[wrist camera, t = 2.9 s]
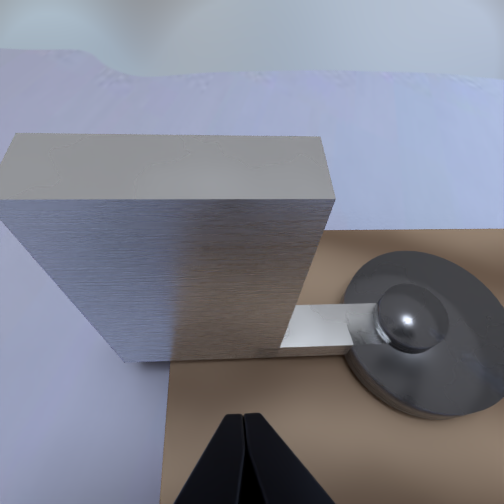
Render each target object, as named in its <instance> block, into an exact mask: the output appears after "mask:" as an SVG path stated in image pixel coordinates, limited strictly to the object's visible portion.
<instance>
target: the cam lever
mask: <svg viewBox="0 0 504 504" xmlns="http://www.w3.org/2000/svg"><path fill="white" fill-rule="evenodd" d="M335 199H336V198H335V194H334V190H333V186H332V182H331V178H330V174H329V170H328V166H327V162H326V158H325V154H324V149H323V145H322V141H321V137H307V136H222V135H137V134H51V133H16V134H15V136H14V138H13V140H12V142H11V144H10V146H9V148H8V150H7V152H6V154H5V156H4V158H3V160H2V162H1V164H0V220H1V221H2V222H3V223H4V225H5V226H6V227H7V228H8V229H9V230H10V231H11V233H12V234H13V235H14V236H15V237H16V238H17V240H18V241H19V242H20V243H21V244H22V245H23V246H24V248H25V249H26V250H27V251H28V252H29V253H30V254H31V256H32V257H33V258H34V259H35V260H36V261H37V263H38V264H39V265H40V266H41V267H42V268H43V269H44V271H45V272H46V273H47V274H48V275H49V276H50V278H51V279H52V280H53V281H54V282H55V283H56V284H57V286H58V287H59V288H60V289H61V290H62V291H63V292H64V294H65V295H66V296H67V297H68V298H69V299H70V301H71V302H72V303H73V304H74V305H75V306H76V307H77V309H78V310H79V311H80V312H81V313H82V314H83V315H84V317H85V318H86V319H87V320H88V321H89V322H90V324H91V325H92V326H93V327H94V328H95V329H96V330H97V332H98V333H99V334H100V335H101V336H102V337H103V339H104V340H105V341H106V342H107V343H108V344H109V345H110V347H111V348H112V349H113V350H114V351H115V352H116V353H117V355H118V356H119V357H120V358H121V359H122V360H123V362H124V363H126V362H154V361H182V360H210V359H238V358H266V357H294V356H322V355H344V357H345V359H346V361H347V362H348V364H349V366H350V368H351V369H352V371H353V372H354V374H355V375H356V377H357V378H358V379H359V380H360V381H361V382H362V384H363V385H364V386H365V387H366V388H367V389H368V390H369V391H370V392H372V393H373V394H374V395H375V396H376V397H378V398H379V399H380V400H382V401H383V402H384V403H386V404H388V405H389V406H391V407H393V408H394V409H396V410H399V411H401V412H403V413H405V414H408V415H411V416H414V417H418V418H423V419H429V420H448V419H454V418H458V417H461V416H465V415H468V414H472V413H475V412H478V411H482V410H485V409H487V408H489V407H491V406H493V405H495V404H496V403H497V402H499V401H500V400H501V399H502V398H503V397H504V308H503V306H502V305H501V303H500V302H499V300H498V299H497V298H496V297H495V296H494V294H493V293H492V292H491V291H490V290H489V289H488V288H487V287H486V286H485V285H484V284H483V283H482V282H481V281H480V280H478V279H477V278H476V277H475V276H474V275H472V274H471V273H469V272H468V271H467V270H465V269H464V268H462V267H460V266H458V265H457V264H455V263H453V262H451V261H448V260H446V259H444V258H441V257H438V256H436V255H432V254H428V253H424V252H418V251H394V252H389V253H385V254H382V255H379V256H377V257H375V258H373V259H371V260H370V261H368V262H367V263H365V264H364V265H363V266H362V267H361V268H360V269H359V270H358V271H357V272H356V274H355V275H354V277H353V278H352V280H351V281H350V283H349V285H348V286H347V288H346V290H345V291H344V293H343V295H342V297H341V299H340V302H339V304H322V305H296V303H297V301H298V298H299V295H300V293H301V290H302V287H303V285H304V282H305V279H306V277H307V274H308V271H309V269H310V266H311V263H312V261H313V258H314V255H315V253H316V250H317V247H318V245H319V242H320V239H321V237H322V234H323V231H324V229H325V226H326V223H327V221H328V218H329V215H330V213H331V210H332V207H333V205H334V202H335Z"/></svg>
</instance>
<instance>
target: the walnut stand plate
mask: <svg viewBox="0 0 504 504" xmlns="http://www.w3.org/2000/svg"><path fill="white" fill-rule="evenodd" d="M394 251H418V252H424V253H428V254H432V255H436V256H438V257H441V258H444V259H446V260H448V261H451V262H453V263H455V264H457V265H458V266H460V267H462V268H464V269H465V270H467V271H468V272H469V273H471V274H472V275H474V276H475V277H476V278H477V279H478V280H480V281H481V282H482V283H483V284H484V285H485V286H486V287H487V288H488V289H489V290H490V291H491V292H492V293H493V294H494V296H495V297H496V298H497V299H498V300H499V302H500V303H501V305H502V306H503V308H504V229H419V230H324V231H323V234H322V237H321V239H320V242H319V245H318V247H317V250H316V253H315V255H314V258H313V261H312V263H311V266H310V269H309V271H308V274H307V277H306V279H305V282H304V285H303V287H302V290H301V293H300V295H299V298H298V301H297V303H296V305H322V304H339V302H340V299H341V297H342V295H343V293H344V291H345V290H346V288H347V286H348V285H349V283H350V281H351V280H352V278H353V277H354V275H355V274H356V272H357V271H358V270H359V269H360V268H361V267H362V266H363V265H364V264H365V263H367V262H368V261H370V260H371V259H373V258H375V257H377V256H379V255H382V254H385V253H389V252H394ZM238 413H240V414H242V415H244V414H245V413H261V414H262V415H263V416H264V418H265V419H266V420H267V421H268V422H269V424H270V425H271V426H272V427H273V428H274V430H275V431H276V432H277V433H278V434H279V436H280V437H281V438H282V439H283V440H284V442H285V443H286V444H287V445H288V447H289V448H290V449H291V450H292V451H293V453H294V454H295V455H296V456H297V457H298V459H299V460H300V461H301V462H302V463H303V465H304V466H305V467H306V468H307V469H308V471H309V472H310V473H311V474H312V476H313V477H314V478H315V479H316V480H317V482H318V483H319V484H320V485H321V486H322V488H323V489H324V490H325V491H326V492H327V494H328V495H329V496H330V497H331V498H332V500H333V501H334V502H335V503H336V504H504V397H503V398H502V399H501V400H500V401H499V402H497V403H496V404H495V405H493V406H491V407H489V408H487V409H485V410H482V411H478V412H475V413H472V414H468V415H465V416H461V417H458V418H454V419H448V420H429V419H423V418H418V417H414V416H411V415H408V414H405V413H403V412H401V411H399V410H396V409H394V408H393V407H391V406H389V405H388V404H386V403H384V402H383V401H382V400H380V399H379V398H378V397H376V396H375V395H374V394H373V393H372V392H370V391H369V390H368V389H367V388H366V387H365V386H364V385H363V384H362V382H361V381H360V380H359V379H358V378H357V377H356V375H355V374H354V372H353V371H352V369H351V368H350V366H349V364H348V362H347V361H346V359H345V357H344V355H322V356H294V357H266V358H238V359H210V360H182V361H170V373H169V386H168V399H167V412H166V425H165V438H164V452H163V465H162V478H161V491H160V504H173V503H174V501H175V499H176V498H177V496H178V494H179V493H180V491H181V489H182V488H183V486H184V484H185V482H186V481H187V479H188V477H189V476H190V474H191V472H192V470H193V469H194V467H195V465H196V464H197V462H198V460H199V459H200V457H201V455H202V453H203V452H204V450H205V448H206V447H207V445H208V443H209V441H210V440H211V438H212V436H213V435H214V433H215V431H216V430H217V428H218V426H219V424H220V423H221V421H222V419H223V418H224V416H225V415H226V414H238Z"/></svg>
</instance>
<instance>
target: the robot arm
mask: <svg viewBox="0 0 504 504" xmlns="http://www.w3.org/2000/svg"><path fill="white" fill-rule="evenodd" d="M173 504H336V503H335V502H334V501H333V500H332V498H331V497H330V496H329V495H328V494H327V492H326V491H325V490H324V489H323V488H322V486H321V485H320V484H319V483H318V482H317V480H316V479H315V478H314V477H313V476H312V474H311V473H310V472H309V471H308V469H307V468H306V467H305V466H304V465H303V463H302V462H301V461H300V460H299V459H298V457H297V456H296V455H295V454H294V453H293V451H292V450H291V449H290V448H289V447H288V445H287V444H286V443H285V442H284V440H283V439H282V438H281V437H280V436H279V434H278V433H277V432H276V431H275V430H274V428H273V427H272V426H271V425H270V424H269V422H268V421H267V420H266V419H265V418H264V416H263V415H262V414H261V413H245V414H244V415H242V414H240V413H238V414H226V415H225V416H224V418H223V419H222V421H221V423H220V424H219V426H218V428H217V430H216V431H215V433H214V435H213V436H212V438H211V440H210V441H209V443H208V445H207V447H206V448H205V450H204V452H203V453H202V455H201V457H200V459H199V460H198V462H197V464H196V465H195V467H194V469H193V470H192V472H191V474H190V476H189V477H188V479H187V481H186V482H185V484H184V486H183V488H182V489H181V491H180V493H179V494H178V496H177V498H176V499H175V501H174V503H173Z"/></svg>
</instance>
